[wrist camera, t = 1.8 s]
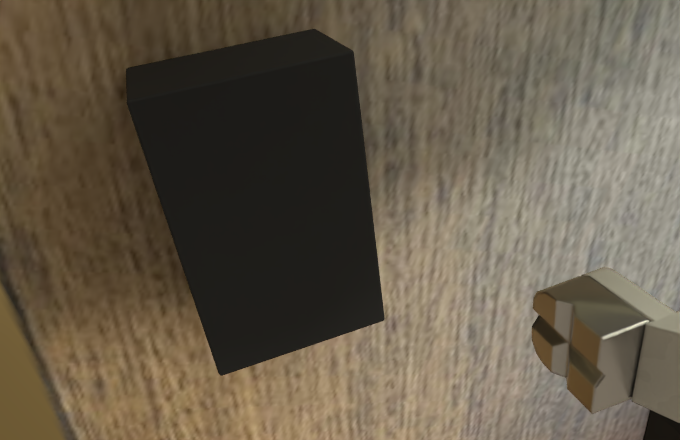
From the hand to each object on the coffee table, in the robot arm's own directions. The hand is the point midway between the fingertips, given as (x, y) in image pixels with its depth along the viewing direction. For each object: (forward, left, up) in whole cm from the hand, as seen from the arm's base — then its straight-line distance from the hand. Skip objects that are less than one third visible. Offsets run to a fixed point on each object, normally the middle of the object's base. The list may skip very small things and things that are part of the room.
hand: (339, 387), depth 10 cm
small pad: (0, 0, -8) cm, 8 cm away
